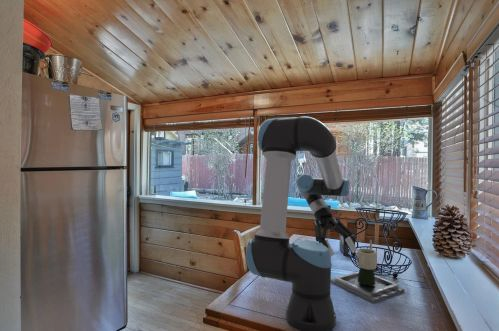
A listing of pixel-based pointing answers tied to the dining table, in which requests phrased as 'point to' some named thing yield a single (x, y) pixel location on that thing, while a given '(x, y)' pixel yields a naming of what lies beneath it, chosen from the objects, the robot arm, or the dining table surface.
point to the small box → (344, 245)
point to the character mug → (366, 265)
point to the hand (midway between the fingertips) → (343, 253)
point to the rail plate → (368, 287)
